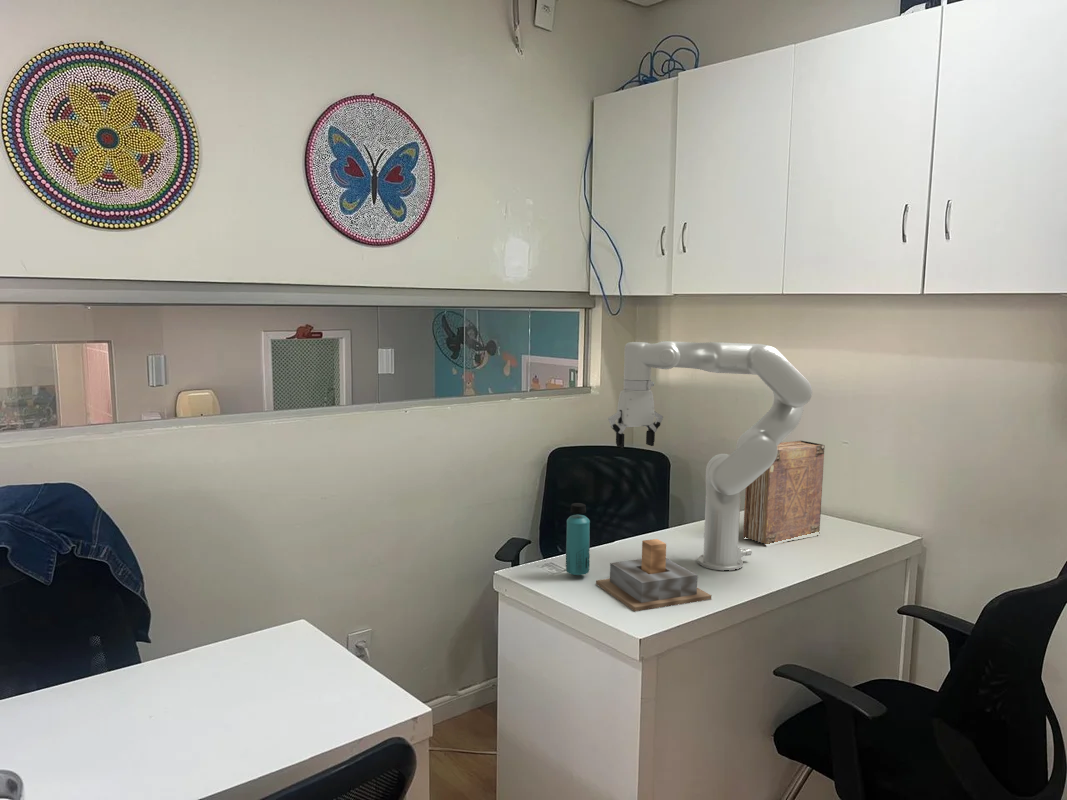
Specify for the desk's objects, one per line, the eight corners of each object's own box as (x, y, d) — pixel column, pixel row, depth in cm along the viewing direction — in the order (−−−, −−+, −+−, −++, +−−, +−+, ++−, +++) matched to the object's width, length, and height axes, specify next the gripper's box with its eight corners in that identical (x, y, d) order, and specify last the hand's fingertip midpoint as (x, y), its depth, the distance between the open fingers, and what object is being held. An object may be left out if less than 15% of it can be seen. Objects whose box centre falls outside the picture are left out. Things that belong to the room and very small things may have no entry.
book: (765, 547, 239) (769, 450, 235) (742, 539, 247) (746, 446, 243) (819, 535, 252) (825, 444, 249) (796, 528, 260) (801, 440, 256)
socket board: (667, 574, 213) (668, 552, 212) (711, 599, 194) (712, 576, 194) (595, 584, 204) (596, 561, 203) (634, 611, 186) (635, 587, 185)
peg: (655, 583, 202) (657, 538, 200) (664, 589, 198) (666, 543, 196) (640, 585, 200) (642, 540, 199) (649, 591, 196) (651, 545, 195)
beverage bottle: (587, 581, 206) (589, 507, 203) (563, 579, 207) (564, 506, 205) (590, 573, 212) (592, 501, 210) (566, 571, 213) (568, 500, 211)
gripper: (656, 384, 225) (654, 442, 227) (603, 385, 218) (601, 445, 220) (670, 386, 218) (668, 446, 220) (616, 388, 212) (614, 450, 214)
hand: (635, 446), depth 220 cm, fingers open, 9 cm apart
